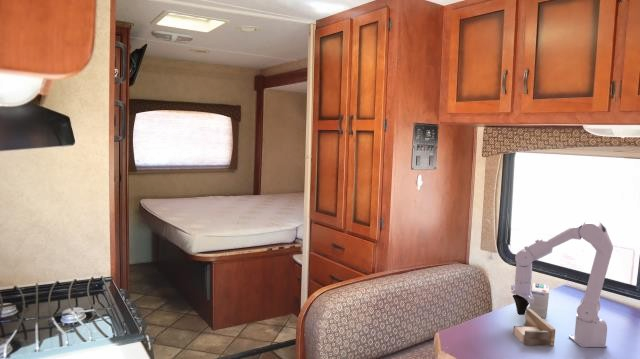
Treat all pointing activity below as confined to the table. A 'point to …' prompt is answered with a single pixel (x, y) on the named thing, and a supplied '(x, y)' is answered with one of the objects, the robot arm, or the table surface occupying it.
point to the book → (523, 331)
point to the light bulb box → (540, 299)
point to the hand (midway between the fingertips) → (520, 314)
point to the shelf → (538, 337)
